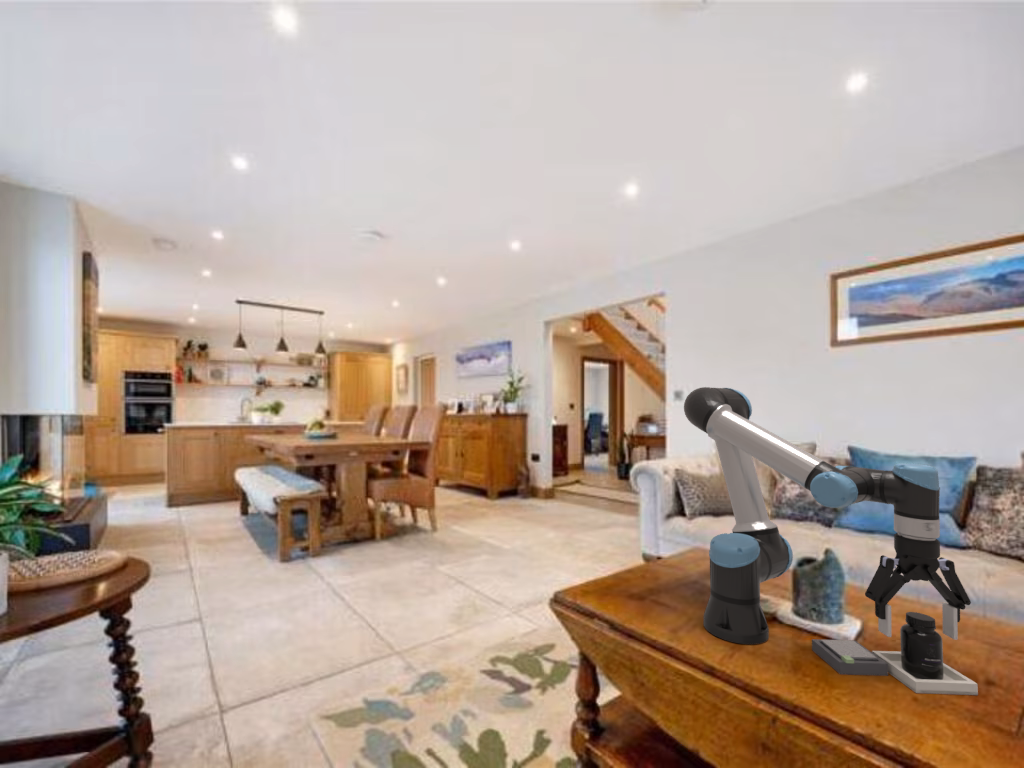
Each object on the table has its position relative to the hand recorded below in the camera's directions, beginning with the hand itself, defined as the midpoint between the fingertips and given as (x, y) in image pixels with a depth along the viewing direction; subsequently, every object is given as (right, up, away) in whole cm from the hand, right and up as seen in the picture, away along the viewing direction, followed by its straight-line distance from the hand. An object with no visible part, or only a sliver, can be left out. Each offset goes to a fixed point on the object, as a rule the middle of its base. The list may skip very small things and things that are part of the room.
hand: (917, 635), depth 100 cm
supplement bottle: (0, -8, -1) cm, 8 cm away
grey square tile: (-12, -7, +5) cm, 14 cm away
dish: (0, -8, -1) cm, 9 cm away
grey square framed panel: (-12, -9, +5) cm, 15 cm away
